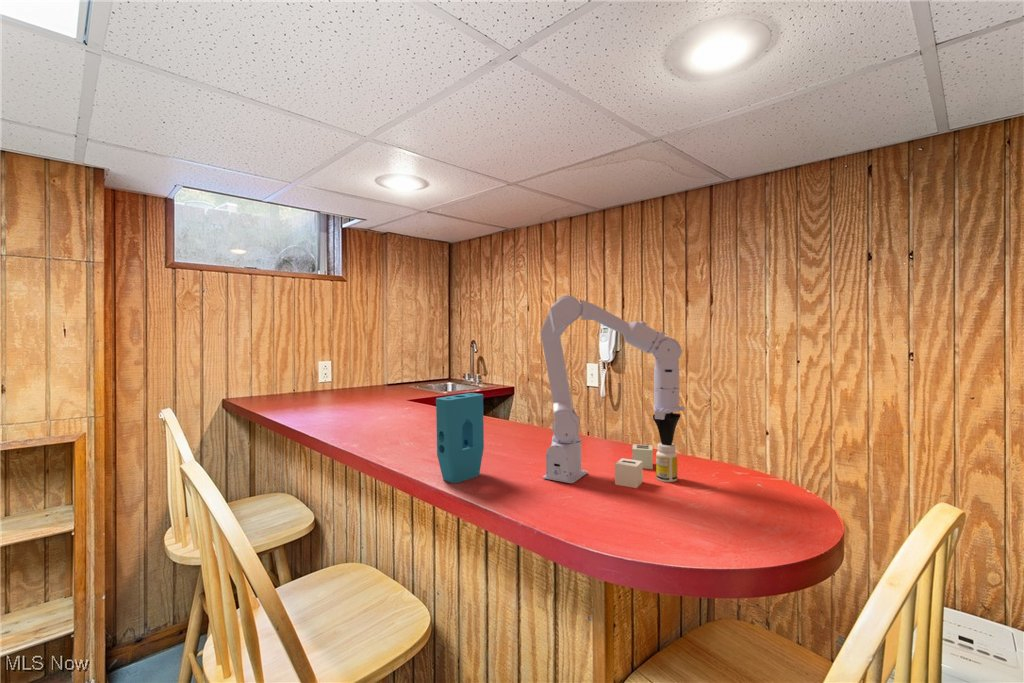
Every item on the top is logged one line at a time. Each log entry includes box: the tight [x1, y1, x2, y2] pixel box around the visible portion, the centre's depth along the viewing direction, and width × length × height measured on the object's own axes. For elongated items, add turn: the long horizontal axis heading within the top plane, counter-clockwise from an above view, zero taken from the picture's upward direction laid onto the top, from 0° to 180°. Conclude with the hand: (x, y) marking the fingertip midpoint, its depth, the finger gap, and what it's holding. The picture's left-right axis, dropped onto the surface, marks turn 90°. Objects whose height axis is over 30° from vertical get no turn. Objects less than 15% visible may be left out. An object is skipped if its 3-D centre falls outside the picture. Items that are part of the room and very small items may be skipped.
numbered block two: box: [631, 443, 654, 470], centre depth 121 cm, size 5×5×5 cm
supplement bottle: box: [655, 442, 678, 483], centre depth 110 cm, size 5×5×8 cm
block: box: [435, 392, 485, 484], centre depth 113 cm, size 12×5×20 cm, turn 138°
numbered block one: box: [614, 457, 644, 489], centre depth 108 cm, size 5×5×5 cm
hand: (666, 444), depth 110 cm, fingers closed
